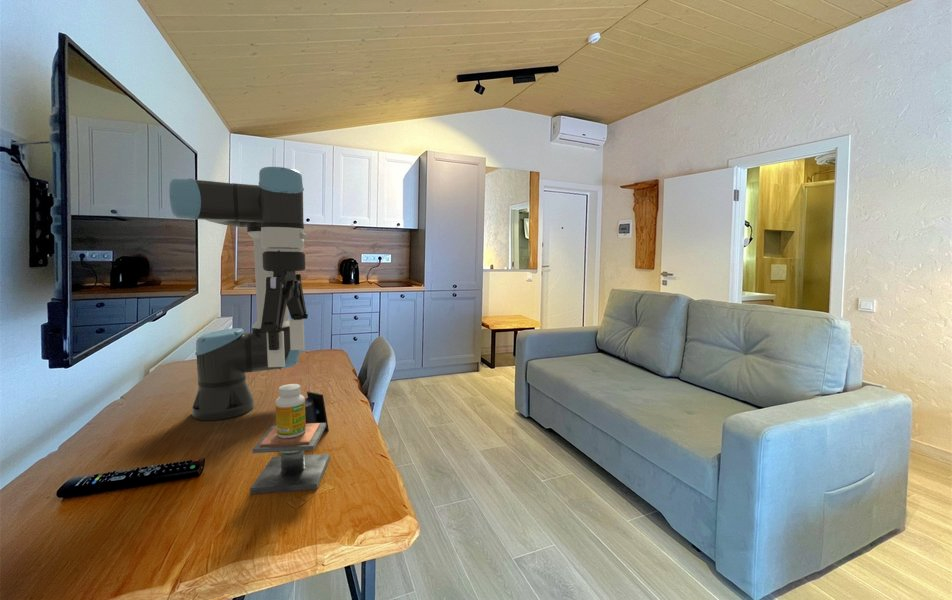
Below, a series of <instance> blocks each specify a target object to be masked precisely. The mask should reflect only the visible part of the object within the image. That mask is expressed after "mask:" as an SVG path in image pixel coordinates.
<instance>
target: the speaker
mask: <svg viewBox="0 0 952 600" xmlns="http://www.w3.org/2000/svg"><path fill="white" fill-rule="evenodd" d="M306 395H307V397H304V398H305V420H306V424H309V423H326V427H325V429H324V431H323V432H327V431H328V432H329V431H330V429H329V424H328V418H327V411H326V406H325V405H326V404H325V399H324V394H322V393H319V392H318V393H317V392H313V391H309V390H308V391H306Z"/></svg>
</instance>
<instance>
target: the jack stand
mask: <svg viewBox="0 0 952 600" xmlns="http://www.w3.org/2000/svg"><path fill="white" fill-rule="evenodd" d="M325 427H326V423H309V424H306V430H305V432H304V433H303V434H302V435H300V436H297V437H293V438H281V437H278V436H277V427H276V424H273V425H271V427H269V429H267V431H266V432H265V433H264V435H263V436H262V437H261V438H260V439H259V441H258V442H257V443H256V444H255V445H254V447H252V450H251V451H252V454H262V453H267V454H268V453H279V454H280V456H273V457H271V458H270V460H269V461H268V462H267V464H266V465H265V467H263V470H262V471H261V472H260V473H259V475H258V477H257V478H256V479H255V480H254V482H253V483H252V485H251V486H250V488H249V492H250V495H257V494H268V493H269V494H270V493H271V494H273V493H286V492H299V491H300V492H301V491H312V490H316V491H317V490H318V488H319V486H320V483H321V480H322V478H323V476H324V473H325V472H326V469H327V467H328V464H329V463H330V459H331V454H330V453H322V454H321V453H320V454H319V453H317V454H305V451H314V450H315V448H316V446H317V444H318V443H319V441H320V439H321V437H322V435H323V433H324V432H325V431H324V429H325Z"/></svg>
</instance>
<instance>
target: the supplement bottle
mask: <svg viewBox="0 0 952 600" xmlns="http://www.w3.org/2000/svg"><path fill="white" fill-rule="evenodd" d="M301 387H302V386H301V385H300V384H298V383H289V384H283V385H281V386H279V387H278V398H277V399H275V422H276V424H275V425H276V427H277V436H278V437H281V438H293V437H297V436H300V435H302V434H303V433H304V432H305V430H306V420H305V398H306V397H305V396H304V395H302V394H301V393H302V392H301V390H302V388H301Z"/></svg>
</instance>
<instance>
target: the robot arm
mask: <svg viewBox="0 0 952 600" xmlns="http://www.w3.org/2000/svg"><path fill="white" fill-rule="evenodd" d="M258 175H259V176H258V177H259V179H258V185H257V184H249V183H248V184H247V183H246V184H245V183H234V182H232V183H231V182H223V181H215V180H214V181H212V180H200V179H194V178H173V179H171V180H170V182H169V189H168V190H169V191H168V192H169V194H168V195H169V204H170V209H171V213H172V215H173V216H174V217H176V218H179V219H189V220H202V221H203V220H205V221H207V222H210V223H214V224H219V225H224V226H228V227H229V226H230V227H240V228H246V230H247V231H246V233H247V234H248V236H249V237H251V239H252V241H253V253H254V256H253V257H254V271H255V272H254V273H255V293H256V295H255V296H256V313H257V314H256V317H257V319H256V321H255V323H253V324H252V326H251V332H245V330H244V329H243V328H241V327H236V328H235V327H234V328H225V329H220V330H216V331H211V332H208V333H204V334H203V335H200V336H199V337H198V338H197V339H196V342H195V348H196V349H195V356H196V365H197V367H196V370H197V371H196V372H197V385H198V386H197V392H196V395H195V398H194V401H193V404H192V407H191V415H192V418H193V417H194V418H193V419H195V420H198V421H220V420H226V419H231V418H234V417H238V416H241V415H243V414H246V413H248V412H250V411H252V410H253V408H254V407H255V402H254V401H255V400H254V396H253V394H252V391H251V389H250V387H249V386H248V385H249V384H248V383H247V379H246V378H247V377H246V375H247V373H248V374H249V373H257V372H263V371H265V372H266V371H274V370H283V369H287V368H294V366H296V365H297V364H298V362H299V358H300V353H301V351H304V350H305V348H306V347H305V346H306V345H305V322H304V321H305V320H308V318H309V314H308V313H307V308H306V303H305V302H306V301H305V295H304V291H303V285H302V274H301V273H296V272H302V271H305V270H306V254H305V252H303V251H302V250H304V249H305V239H307V238H308V235H307V233H305V225H304V223H305V222H304V189H305V188H304V187H303V176H302V174H301V172H300V171H298V170H296V169H293V168H289V167H282V166H265V167H262V168H261V169H260V170H259V173H258ZM290 318H291V319H290Z"/></svg>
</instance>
